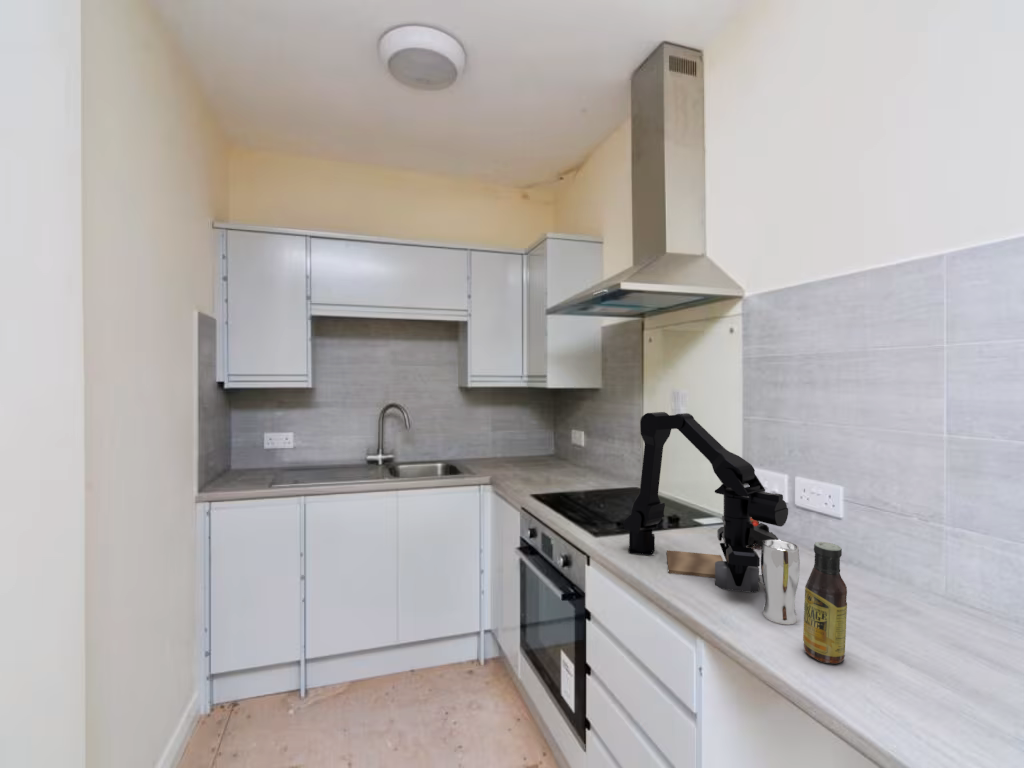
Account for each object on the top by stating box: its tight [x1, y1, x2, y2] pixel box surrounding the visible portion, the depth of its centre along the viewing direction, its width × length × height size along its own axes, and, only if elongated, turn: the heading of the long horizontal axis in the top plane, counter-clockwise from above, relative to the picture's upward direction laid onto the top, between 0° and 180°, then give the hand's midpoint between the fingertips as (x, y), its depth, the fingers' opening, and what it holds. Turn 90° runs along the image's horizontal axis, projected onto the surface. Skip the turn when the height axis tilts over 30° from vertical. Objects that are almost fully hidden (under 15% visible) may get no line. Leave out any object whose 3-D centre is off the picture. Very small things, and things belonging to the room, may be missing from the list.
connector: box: [714, 560, 763, 593], centre depth 112 cm, size 12×4×5 cm, turn 74°
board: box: [666, 549, 724, 579], centre depth 125 cm, size 14×14×1 cm
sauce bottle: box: [802, 541, 848, 665], centre depth 84 cm, size 6×6×20 cm
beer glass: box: [760, 539, 801, 626], centre depth 98 cm, size 7×7×15 cm
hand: (736, 581), depth 112 cm, fingers closed on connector, 4 cm apart
